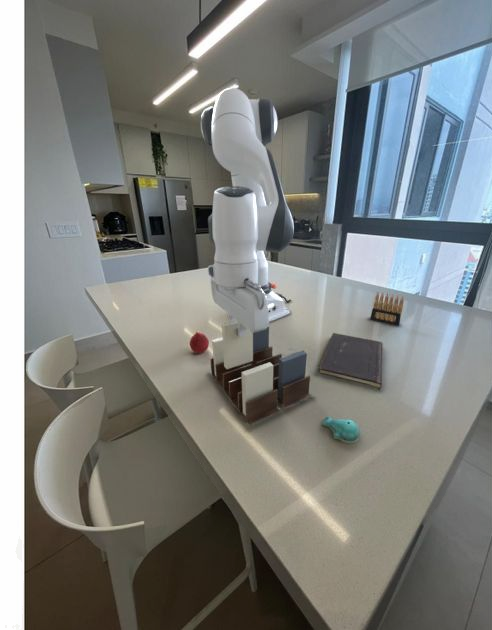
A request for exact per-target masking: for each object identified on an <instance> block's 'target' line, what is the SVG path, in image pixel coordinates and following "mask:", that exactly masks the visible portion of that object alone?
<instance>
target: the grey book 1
mask: <svg viewBox="0 0 492 630" xmlns="http://www.w3.org/2000/svg"><path fill="white" fill-rule="evenodd" d="M268 347H270V327H269V326H268V327H267V329H265V330H263V331H259V332H255V333H253V352H256V351H259V350H262V349H265V348H268ZM246 365H248V363H246Z"/></svg>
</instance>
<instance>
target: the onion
mask: <svg viewBox="0 0 492 630" xmlns="http://www.w3.org/2000/svg"><path fill="white" fill-rule="evenodd" d="M209 345H210V341H209V339H208V337H207V335H205V334H204V333H203V332H200V331H199V330H196V332H195V333H194V334H193V335H192V336H191V338H190V340H189V347H190V350H191V351H192V352H194V353H195V354H203V353H205V352H206V351H207V350H208V349H209Z"/></svg>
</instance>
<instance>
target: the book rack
mask: <svg viewBox="0 0 492 630" xmlns="http://www.w3.org/2000/svg"><path fill="white" fill-rule="evenodd" d="M273 349H274V348H273V346H269V347H268V348H265V349H262V350H259V351H256V352H253V361H251V362H248V365H246V363H245V364H242V365H239V366H236V367H233V368H230V369H226V368H225V367H224V362H222V363H219V364H216V365H215V368H216V376H215V370H214V358H213V357H209V362H210V372H209V373H210V374H211V376H212V377H213V378H214V380H215V381H216V382H217V384H218V385H219V386H220V388H221V389H222V390H223V392H224V393H225V394H226V396H227V397H228V399H229V401H230V402H231V403H232V404H233V406H234V407H235V408H236V410H237V411H238V412H239V413H240V415H241V416H242V417H243V419H244V421H245V422H246V423H247V424H248V426H251V425H253V424H255V423H257V422H259V421H262V420H264V419H265V418H268V417H269V416H272V415H274V414H276V413H279V412H280V411H281V410H280V409H279V408H278V402H279V404H281V406H283V408H284V409H286V408H289V407H291V406H293V405H295V404H297V403H299V402H301V401H303V400H305V399H308V398H310V397H311V396H312V395H311V393H310V383H311V375H305V377H304V378H302V379H299V380H297V381H295V382H292V383H290V384H287V385H285V386H283V387H282V401H281V400H280V399H279V398H278V376H279V359H280V358H283V354H282V353H277V354H275V355H273ZM269 362H270V363H271V364H272V365H273V391H271V392H269V393H266V394H264V395H262V396H259V397H257V398H254V399H252V400H250V401H247V402H245V410H246V416H245V415H244V414H243V401H242V372H244V371H246V370H249V369H252V368H255V367H258V366H260V365H263V364H266V363H269Z"/></svg>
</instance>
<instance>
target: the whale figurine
mask: <svg viewBox="0 0 492 630" xmlns="http://www.w3.org/2000/svg"><path fill="white" fill-rule="evenodd" d="M321 425H322V426H323V427H326V428H329V429H330V430H331V431H332V433H333V435H332V437H333V439H335V440H340V441H341V442H343V443H346V444H354V443H356V442H357V441H358V440H359V439H360V428H359V427H358V424H357V423H355V422H354V421H353V420H351V419H346V418H345V419H339V418H338V419H337V418H336V419H332V417H331V416H326V418H325V420H324V421H322V423H321Z"/></svg>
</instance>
